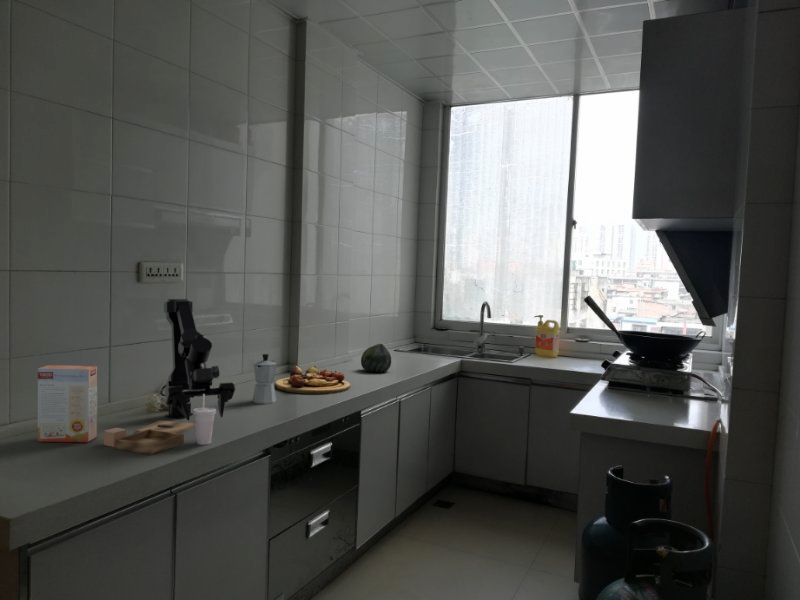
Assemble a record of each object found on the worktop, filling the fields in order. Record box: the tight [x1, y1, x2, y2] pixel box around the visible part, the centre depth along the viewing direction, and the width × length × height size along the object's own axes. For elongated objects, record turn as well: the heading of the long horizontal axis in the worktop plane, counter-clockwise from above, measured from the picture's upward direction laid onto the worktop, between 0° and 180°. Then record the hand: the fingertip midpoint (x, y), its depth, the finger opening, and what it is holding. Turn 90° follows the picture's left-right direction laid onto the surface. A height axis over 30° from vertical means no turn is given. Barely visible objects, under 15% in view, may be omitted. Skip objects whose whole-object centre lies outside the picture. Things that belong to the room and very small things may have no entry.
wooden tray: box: [115, 429, 185, 456], centre depth 169 cm, size 12×12×2 cm
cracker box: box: [37, 364, 98, 443], centre depth 171 cm, size 14×6×21 cm, turn 92°
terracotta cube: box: [103, 427, 127, 448], centre depth 169 cm, size 4×4×4 cm
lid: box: [134, 419, 195, 434], centre depth 186 cm, size 12×12×1 cm
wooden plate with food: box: [274, 366, 351, 395], centre depth 259 cm, size 32×32×8 cm
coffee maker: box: [252, 353, 277, 405], centre depth 229 cm, size 15×9×18 cm, turn 168°
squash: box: [360, 343, 392, 373], centre depth 302 cm, size 14×15×15 cm
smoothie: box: [192, 394, 217, 446], centre depth 173 cm, size 6×6×14 cm
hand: (205, 418), depth 172 cm, fingers open, 9 cm apart
